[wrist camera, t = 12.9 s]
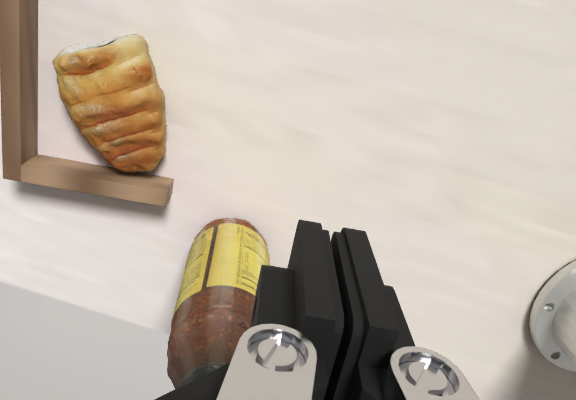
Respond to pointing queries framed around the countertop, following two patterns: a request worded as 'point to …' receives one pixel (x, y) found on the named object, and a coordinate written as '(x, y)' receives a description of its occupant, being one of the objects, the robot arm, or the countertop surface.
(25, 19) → the open wooden frame
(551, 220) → the countertop surface
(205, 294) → the sauce bottle
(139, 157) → the pastry
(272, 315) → the robot arm
